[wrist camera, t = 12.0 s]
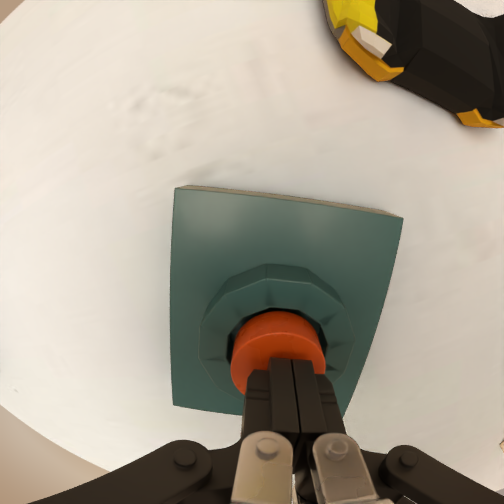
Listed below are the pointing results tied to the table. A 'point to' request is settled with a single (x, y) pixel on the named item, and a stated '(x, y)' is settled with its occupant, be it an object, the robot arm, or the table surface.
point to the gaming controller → (428, 51)
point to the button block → (272, 283)
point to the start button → (274, 344)
